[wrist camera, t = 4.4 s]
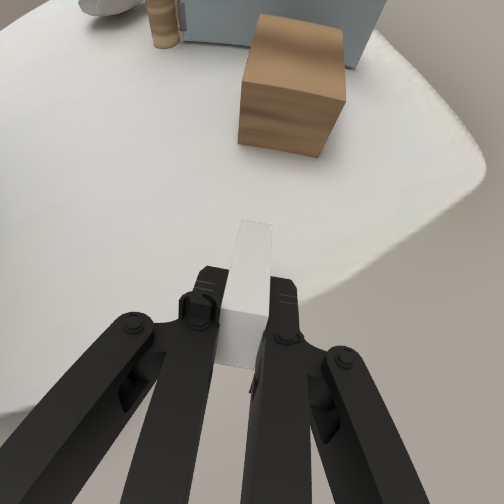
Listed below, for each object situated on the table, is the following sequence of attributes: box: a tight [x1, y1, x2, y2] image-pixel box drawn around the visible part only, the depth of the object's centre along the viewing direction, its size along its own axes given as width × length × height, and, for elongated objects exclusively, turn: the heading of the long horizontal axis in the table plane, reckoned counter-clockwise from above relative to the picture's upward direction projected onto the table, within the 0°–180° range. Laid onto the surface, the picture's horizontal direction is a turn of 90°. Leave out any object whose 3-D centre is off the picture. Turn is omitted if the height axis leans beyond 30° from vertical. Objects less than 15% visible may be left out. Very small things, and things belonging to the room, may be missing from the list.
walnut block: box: [238, 14, 346, 158], centre depth 24 cm, size 9×7×8 cm
